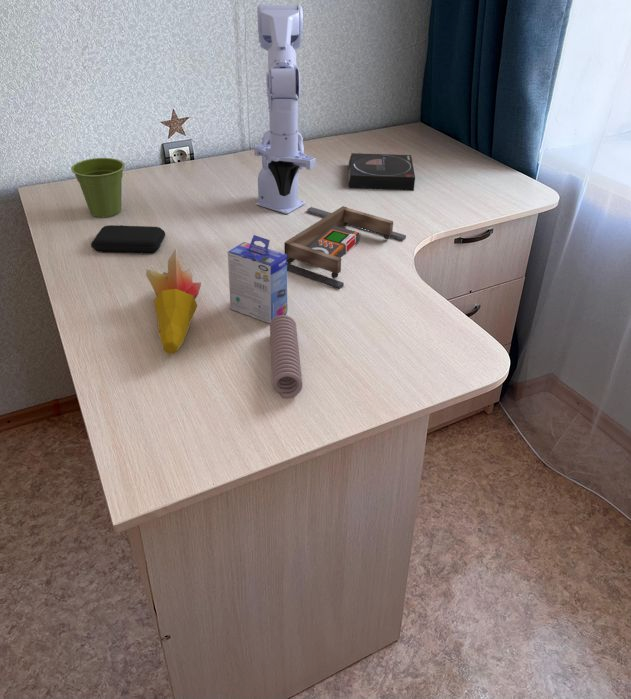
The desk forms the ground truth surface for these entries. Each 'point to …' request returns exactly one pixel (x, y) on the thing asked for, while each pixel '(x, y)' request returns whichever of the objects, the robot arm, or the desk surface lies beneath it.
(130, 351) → the desk surface
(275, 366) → the coil
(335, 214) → the dolly
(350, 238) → the electronic device
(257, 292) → the ink cartridge box
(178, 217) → the desk surface
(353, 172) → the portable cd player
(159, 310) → the torch
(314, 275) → the track
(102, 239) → the carrying case or bag
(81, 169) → the plant pot
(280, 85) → the robot arm
